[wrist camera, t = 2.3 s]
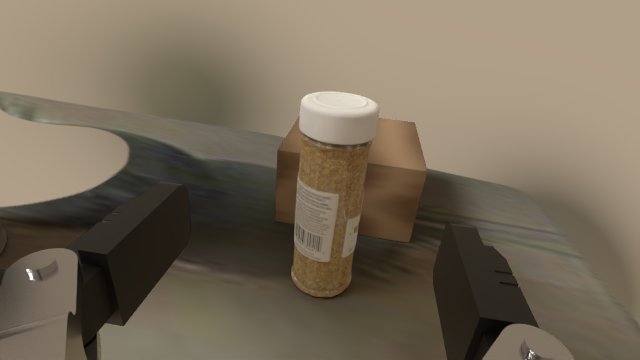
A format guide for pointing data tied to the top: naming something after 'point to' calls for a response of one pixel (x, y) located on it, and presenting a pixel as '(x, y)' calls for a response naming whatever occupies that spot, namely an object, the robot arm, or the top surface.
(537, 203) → the top surface
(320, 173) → the sprinkles bottle
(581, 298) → the top surface
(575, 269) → the top surface
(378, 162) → the block
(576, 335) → the top surface
